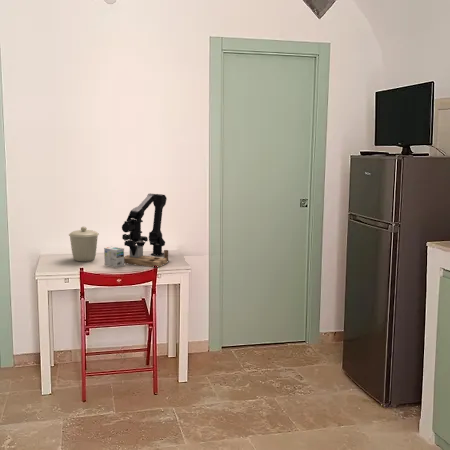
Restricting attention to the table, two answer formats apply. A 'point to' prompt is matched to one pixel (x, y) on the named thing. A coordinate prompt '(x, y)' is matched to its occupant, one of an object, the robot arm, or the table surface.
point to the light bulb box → (114, 256)
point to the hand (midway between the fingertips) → (136, 254)
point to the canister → (83, 244)
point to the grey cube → (137, 252)
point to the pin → (166, 254)
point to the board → (145, 260)
